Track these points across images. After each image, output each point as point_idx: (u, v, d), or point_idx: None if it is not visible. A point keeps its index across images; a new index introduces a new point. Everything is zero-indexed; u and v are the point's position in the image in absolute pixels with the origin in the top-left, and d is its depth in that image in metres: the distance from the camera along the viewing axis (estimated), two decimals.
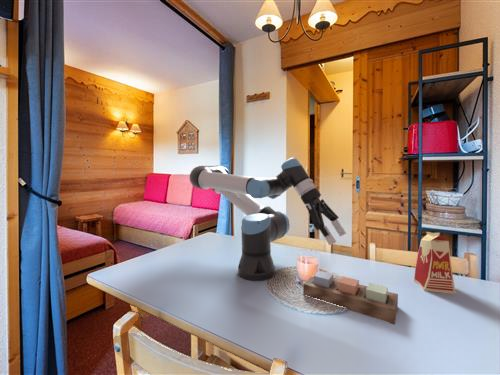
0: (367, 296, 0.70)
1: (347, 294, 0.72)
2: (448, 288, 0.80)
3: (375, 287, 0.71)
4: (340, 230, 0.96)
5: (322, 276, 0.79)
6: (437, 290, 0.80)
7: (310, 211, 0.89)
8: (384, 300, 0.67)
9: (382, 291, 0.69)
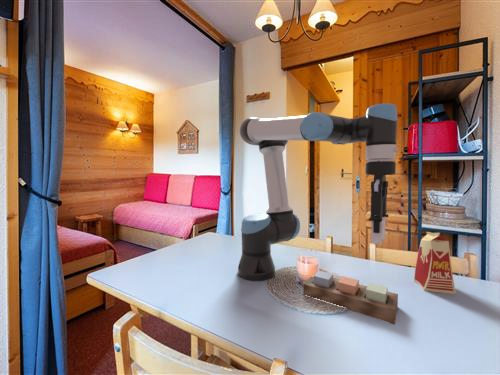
0: (367, 296, 0.70)
1: (347, 294, 0.72)
2: (448, 288, 0.80)
3: (375, 287, 0.71)
4: None
5: (322, 276, 0.79)
6: (437, 290, 0.80)
7: (374, 194, 0.64)
8: (384, 300, 0.67)
9: (382, 291, 0.69)
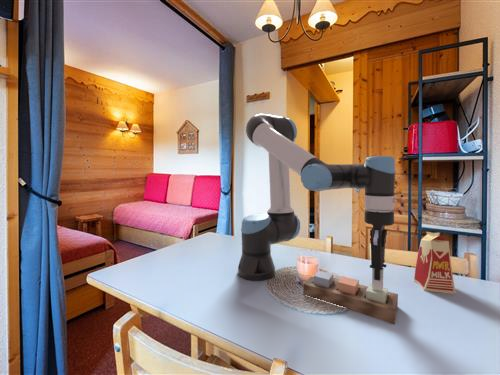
0: (367, 297, 0.70)
1: (347, 294, 0.72)
2: (448, 288, 0.80)
3: None
4: None
5: (322, 276, 0.79)
6: (437, 290, 0.80)
7: (373, 248, 0.66)
8: (384, 302, 0.67)
9: (382, 292, 0.69)
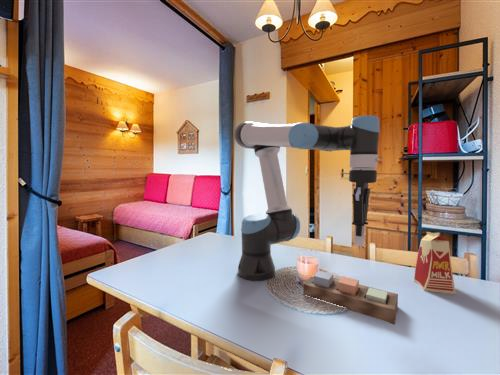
0: None
1: (347, 294, 0.72)
2: (448, 288, 0.80)
3: (375, 292, 0.71)
4: None
5: (322, 276, 0.79)
6: (437, 290, 0.80)
7: (355, 203, 0.69)
8: None
9: (382, 296, 0.69)
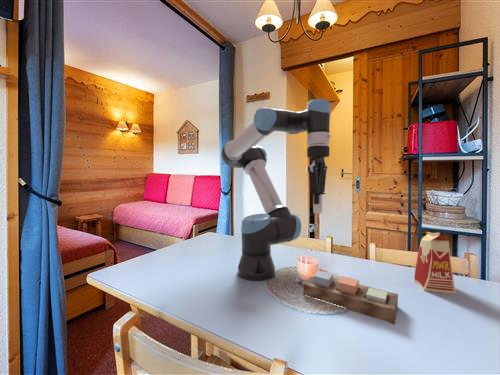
0: None
1: (347, 294, 0.72)
2: (448, 288, 0.80)
3: (375, 292, 0.71)
4: None
5: (322, 276, 0.79)
6: (437, 290, 0.80)
7: (311, 174, 0.80)
8: None
9: (382, 296, 0.69)
